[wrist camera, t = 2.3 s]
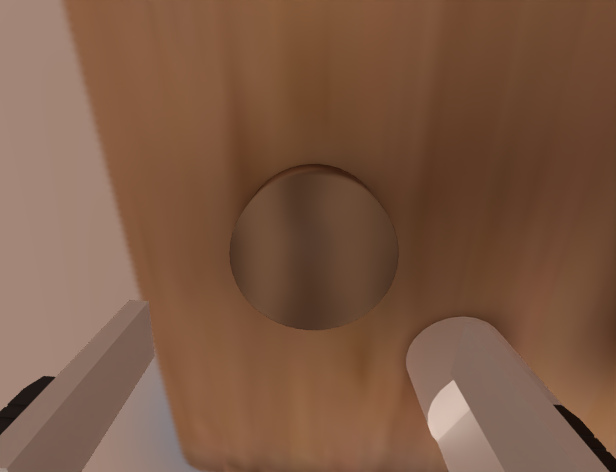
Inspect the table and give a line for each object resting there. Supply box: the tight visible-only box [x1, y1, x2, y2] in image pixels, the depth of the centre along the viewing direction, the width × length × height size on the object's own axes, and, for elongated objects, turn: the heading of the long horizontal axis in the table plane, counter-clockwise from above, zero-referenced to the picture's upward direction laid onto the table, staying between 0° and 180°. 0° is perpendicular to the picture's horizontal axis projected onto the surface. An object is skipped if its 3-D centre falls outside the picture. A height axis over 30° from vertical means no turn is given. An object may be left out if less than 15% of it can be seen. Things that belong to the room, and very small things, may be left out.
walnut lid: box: [230, 164, 398, 330], centre depth 24 cm, size 11×11×5 cm
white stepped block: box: [406, 316, 564, 472], centre depth 24 cm, size 9×9×12 cm
